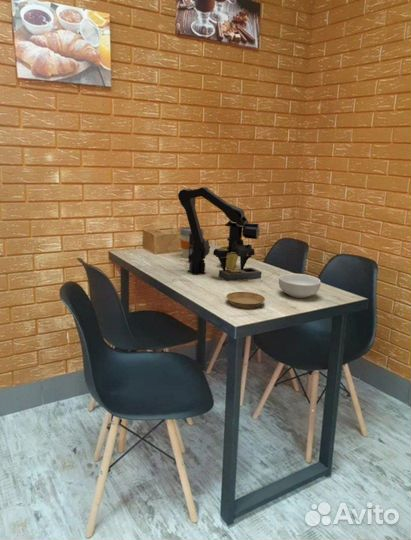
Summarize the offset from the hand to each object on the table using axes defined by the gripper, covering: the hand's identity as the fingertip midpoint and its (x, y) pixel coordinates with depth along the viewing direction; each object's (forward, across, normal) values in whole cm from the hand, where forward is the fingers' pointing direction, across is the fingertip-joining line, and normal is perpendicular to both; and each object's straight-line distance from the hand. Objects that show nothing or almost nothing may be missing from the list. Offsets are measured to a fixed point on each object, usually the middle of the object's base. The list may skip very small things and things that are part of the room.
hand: (233, 270), depth 208 cm
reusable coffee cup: (+4, 0, +44) cm, 44 cm away
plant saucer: (+4, -14, -33) cm, 36 cm away
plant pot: (+4, +9, +19) cm, 21 cm away
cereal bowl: (+4, +13, -31) cm, 34 cm away
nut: (+4, 0, 0) cm, 4 cm away
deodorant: (+4, -4, +32) cm, 32 cm away
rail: (+4, +4, 0) cm, 5 cm away
